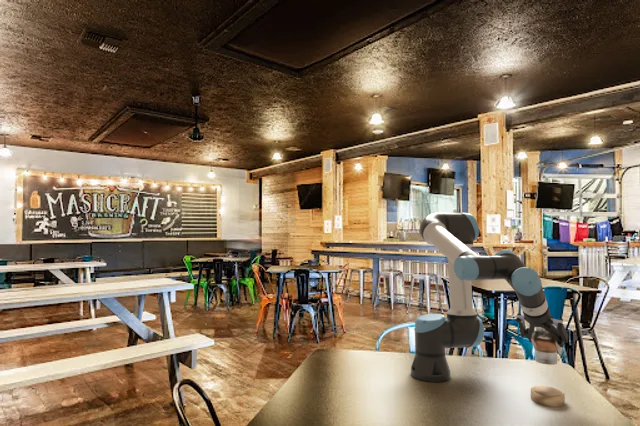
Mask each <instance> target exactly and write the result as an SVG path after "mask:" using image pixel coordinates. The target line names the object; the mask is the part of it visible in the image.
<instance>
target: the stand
mask: <svg viewBox="0 0 640 426" xmlns="http://www.w3.org/2000/svg"><path fill="white" fill-rule="evenodd" d="M530 399H531V401H533V402H534V403H536V404H538V405H541V406H545V407H550V408H551V407H552V408H560V407H563V406H565V403H566V401H565V400H566V396H565V393H564V392H563V391H562V390H560V389H558V388H555V387H552V386H546V385H545V386H544V385H535V386H532V387H530Z"/></svg>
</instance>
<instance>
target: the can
mask: <svg viewBox="0 0 640 426" xmlns="http://www.w3.org/2000/svg"><path fill="white" fill-rule="evenodd" d="M552 325H553V326H554V327H555V328H556V329H557V327H556V325H555V324H554V323H552ZM533 333H534V344H535V349H534V360H535V362H536V363H539V364H543V365H551V366H552V365H557V364H558V350H557V346H556V343H555V342H556V340H555V339H554V337H553V336H552V335H551V334H550V333H549V332H548V331H546V330H545V329H544V328H541V327H535V328H534V330H533Z"/></svg>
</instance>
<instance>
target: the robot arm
mask: <svg viewBox="0 0 640 426" xmlns="http://www.w3.org/2000/svg"><path fill="white" fill-rule="evenodd" d="M479 233H480V228H479V223H478V221H477V219H476V218H475V215H472V214H471V213H468V212H434V213H433V212H432V213H430V214H428V215H426V216H425V217H424V218H423V219H422V220H421V223H420V225H419V234H420V236H421V238H422V240H423V241H424V242H426V243H427V244H428V245H432V246H434V247H435V248H436V249H437V250H438V251H439V252H440V253H441V254H442V255H443V256H445V258H446V259H447V262H448V264H447V265H448V283H449V305H450V308H449V310H447V312H446V316H445V315H443V314H441V313H426V314H422V315H419V316H418V317H417V318H415V323H414V349H415V351H414V358H413V360H412V363H411V367H410V375H411V377H413V378H415V379H416V380H419V381H424V382H430V383H442V382H445V381H449V380H450V379H451V369H450V366H449V364H448V363H449V362H448V360H447V358H446V357H447V356H446V349H453V348H454V349H455V348H456V349H457V348H460V349H461V348H467V349H470V348H475V347H478V346H479V345H480V344H481V343H482V342H483V340H484V336H485V327H484V326H485V325H484V324H483V320H482V319H481V317H478V312H476V311H475V310H474V308H473V290H472V289H473V288H472V281H482V280H483V281H484V280H486V281H487V280H491V281H493V280H505V281H506V282H507V284H508V285H509V286H510V287H511V288H512V290H513V291H514V292H515V294H516V295H517V298H518V302H519V305H520V308H521V310H522V311H521V312H522V313H523V315H522V314H521V313H520V312H518V313H517V315H516V319H515V321H516V322H517V323H518V327H519V332H520V336H521V337H526V338H527V339H528V341H529V343H531V344H532V346H533V349H534V350H535V344H534V328H535V327H541V328H544V329H545V330H546V331H548V332H549V333H550V334H551V335H552V336H553V337H554V339H555V340H556V342H555V343H556V346H557V354H558V355H562V354H563V353H562V352H563V348H564V346H565V344H568V343H569V334H568V331H567V329H566V327H565V325H564V319H563V318H561V317H559V318H558V319H556V318H554V317H553V316H552V315H551V312H550V308H549V305H548V304H549V303H548V301H547V298H546V295H545V292H544V287H543V285H542V279H541V277H540V276H539V273H538V272H537V271H536V270H535V269H534V268H530V267H527V265H525V263H524V262H523V261H522V259H521V258H520V257H519V256H518V255H517V254H516V253H514V252H513V251H512V250H511V249H507V248H506V249H502V250H499V251H497V252H495V254H494V255H478V254H477V253H476V252H474V251H473V250H472V249H471V248H472V247H473V246H474V241H477V240H478V237H479V235H480V234H479ZM525 321H526V322H527V323H528V324H530V325H529V327H528V328H527V329H528V330H527V329H526V323H525ZM552 324H554V325H555V326H556V328H555V327H554V326H553V325H552Z"/></svg>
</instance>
